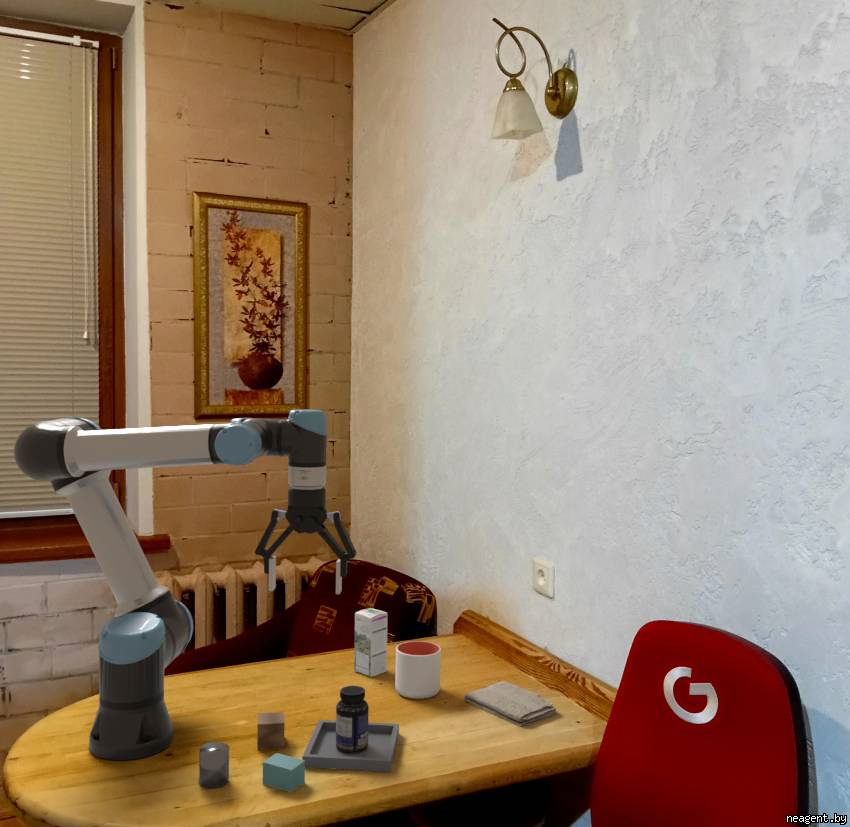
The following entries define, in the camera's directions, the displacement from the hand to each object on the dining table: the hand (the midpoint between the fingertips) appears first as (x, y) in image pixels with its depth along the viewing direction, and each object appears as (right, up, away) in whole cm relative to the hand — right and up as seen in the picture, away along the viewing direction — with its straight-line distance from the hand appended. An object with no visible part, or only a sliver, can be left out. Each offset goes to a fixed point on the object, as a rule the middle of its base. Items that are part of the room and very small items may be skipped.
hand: (305, 591), depth 174 cm
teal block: (0, -28, -24) cm, 37 cm away
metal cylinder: (-12, -28, -25) cm, 39 cm away
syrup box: (+11, -26, +30) cm, 41 cm away
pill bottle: (+10, -27, -11) cm, 31 cm away
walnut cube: (-5, -27, -9) cm, 29 cm away
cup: (+22, -27, +18) cm, 39 cm away
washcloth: (+42, -28, +11) cm, 52 cm away
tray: (+11, -28, -11) cm, 32 cm away
